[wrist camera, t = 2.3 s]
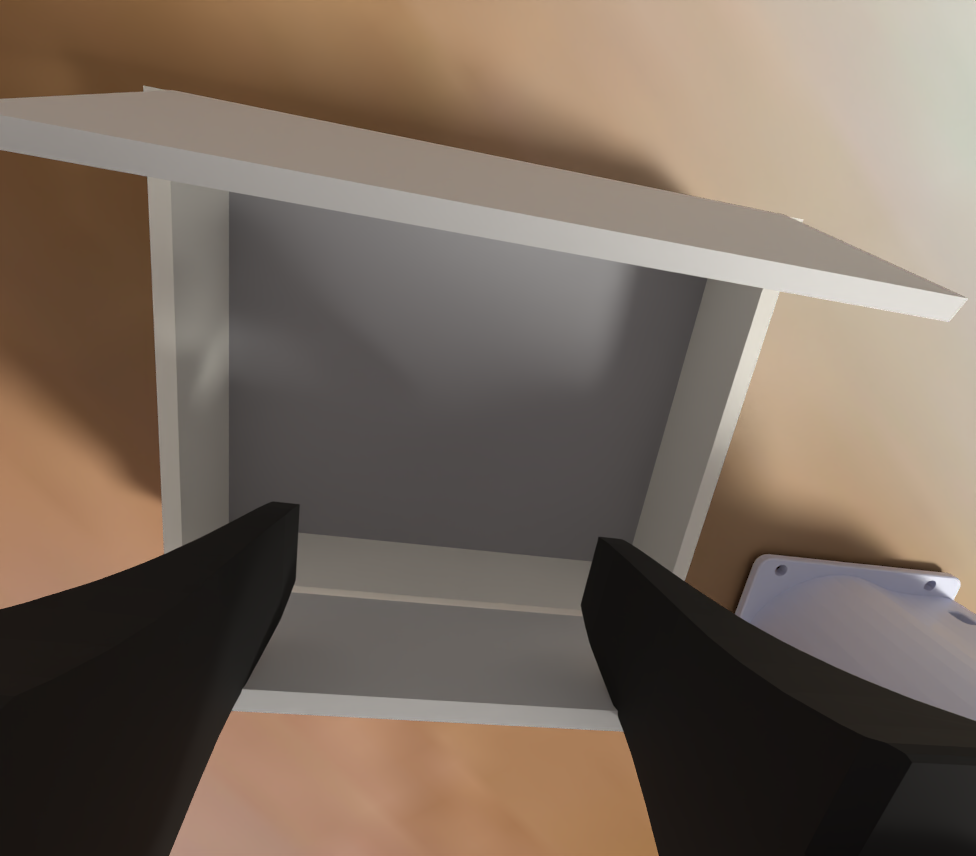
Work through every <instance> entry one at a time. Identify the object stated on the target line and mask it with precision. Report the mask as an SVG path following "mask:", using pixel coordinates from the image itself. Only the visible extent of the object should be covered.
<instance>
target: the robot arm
mask: <svg viewBox="0 0 976 856" xmlns="http://www.w3.org/2000/svg"><path fill="white" fill-rule="evenodd" d="M299 510H300V504H293V503H283V502H274V501H272V502H270V503H267V504H265V505H263V506H261V507H259V508H257V509H255V510H253V511H251V512H249V513H247V514H245V515H243V516H241V517H239V518H237V519H236V520H234V521H232V522H230V523H228V524H226V525H224V526H222V527H220V528H218V529H216V530H214V531H212V532H210V533H208V534H206V535H204V536H202V537H200V538H198V539H196V540H194V541H192V542H189V543H187V544H185V545H183V546H181V547H179V548H176V549H174V550H172V551H170V552H168V553H166V554H163V555H161V556H159V557H157V558H154V559H152V560H150V561H147V562H145V563H142V564H140V565H137V566H135V567H132V568H130V569H127V570H124V571H122V572H119V573H116V574H114V575H111V576H108V577H105V578H103V579H100V580H97V581H94V582H91V583H88V584H85V585H82V586H79V587H75V588H72V589H69V590H66V591H62V592H59V593H56V594H52V595H49V596H46V597H43V598H39V599H36V600H33V601H30V602H26V603H23V604H19V605H16V606H12V607H8V608H4V609H0V856H169V854H170V852H171V849H172V847H173V845H174V842H175V840H176V837H177V835H178V832H179V830H180V827H181V825H182V823H183V820H184V818H185V815H186V813H187V810H188V808H189V805H190V803H191V801H192V798H193V796H194V793H195V791H196V788H197V786H198V784H199V781H200V779H201V777H202V774H203V772H204V770H205V767H206V765H207V763H208V760H209V758H210V756H211V753H212V751H213V749H214V746H215V744H216V742H217V739H218V737H219V735H220V733H221V731H222V729H223V727H224V725H225V723H226V721H227V719H228V717H229V714H230V712H231V711H232V709H233V707H234V705H235V703H236V701H237V700H238V698H239V696H240V694H241V692H242V689H243V687H244V686H245V685H246V683H247V681H248V679H249V678H250V676H251V674H252V672H253V670H254V668H255V666H256V665H257V663H258V661H259V659H260V657H261V655H262V654H263V652H264V650H265V648H266V646H267V644H268V642H269V641H270V639H271V637H272V635H273V633H274V631H275V629H276V627H277V626H278V624H279V622H280V620H281V618H282V615H283V613H284V610H285V607H286V605H287V602H288V600H289V597H290V594H291V592H292V589H293V586H294V584H295V581H296V567H297V548H298V529H299ZM780 565H781V566H780ZM778 566H780V567H779V568H778V569H777V570H776V568H777V567H778ZM959 588H960V580H959V579H958V578H956V577H955V576H953V575H951V574H949V573H943V572H934V571H924V570H915V569H905V568H896V567H886V566H877V565H867V564H858V563H848V562H839V561H829V560H820V559H811V558H801V557H792V556H782V555H773V554H764V555H761V556H759V557H758V558H757V559H756V560H755V562H754V563H753V566H752V569H751V571H750V574H749V577H748V580H747V582H746V585H745V588H744V590H743V593H742V596H741V598H740V601H739V604H738V606H737V609H736V612H735V614H733V613H732V612H730V611H729V610H727V609H726V608H724V607H722V606H721V605H719V604H718V603H716V602H715V601H713V600H712V599H710V598H708V597H707V596H705V595H704V594H702V593H701V592H699V591H698V590H696V589H695V588H694V587H692V586H691V585H689V584H688V583H686V582H685V581H683V580H682V579H681V578H679V577H678V576H676V575H675V574H673V573H672V572H671V571H669V570H668V569H666V568H665V567H664V566H662V565H661V564H659V563H658V562H657V561H655V560H654V559H652V558H651V557H650V556H648V555H647V554H645V553H644V552H642V551H641V550H639V549H638V548H636V547H635V546H633V545H632V544H630V543H628V542H626V541H625V540H623V539H617V538H607V537H598V541H597V545H596V549H595V552H594V556H593V560H592V564H591V567H590V571H589V575H588V579H587V582H586V586H585V590H584V594H583V597H582V601H581V610H582V615H583V619H584V624H585V628H586V632H587V636H588V640H589V643H590V646H591V649H592V652H593V654H594V657H595V660H596V662H597V665H598V668H599V670H600V673H601V675H602V678H603V680H604V683H605V686H606V688H607V691H608V693H609V696H610V698H611V701H612V703H613V706H614V707H615V708H616V709H617V711H618V719H619V721H620V724H621V726H622V729H623V731H624V734H625V737H626V740H627V743H628V746H629V749H630V752H631V754H632V758H633V761H634V765H635V768H636V772H637V775H638V779H639V782H640V786H641V789H642V793H643V797H644V800H645V804H646V807H647V811H648V815H649V819H650V823H651V827H652V831H653V835H654V838H655V842H656V846H657V850H658V854H659V856H976V614H975V613H973V612H971V611H970V610H968V609H967V608H965V607H964V606H962V605H960V604H959V603H957V602H956V601H954V598H955V596H956V594H957V592H958V590H959Z"/></svg>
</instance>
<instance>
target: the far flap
mask: <svg viewBox="0 0 976 856" xmlns="http://www.w3.org/2000/svg"><path fill="white" fill-rule="evenodd" d="M232 711H244V712H263V713H282V714H301V715H320V716H339V717H358V718H377V719H396V720H415V721H434V722H453V723H471V724H490V725H509V726H528V727H547V728H566V729H585V730H604V731H623V729H622V726H621V724H620V721H619V719H618V711H617V709H616V708H615V707H614V706H613V703H612V701H611V698H610V696H609V693H608V691H607V688H606V686H605V683H604V680H603V678H602V675H601V673H600V670H599V668H598V665H597V662H596V660H595V657H594V654H593V652H592V649H591V646H590V643H589V640H588V636H587V632H586V628H585V624H584V619H583V616H571V615H559V614H547V613H535V612H523V611H511V610H499V609H487V608H475V607H463V606H451V605H439V604H427V603H415V602H403V601H391V600H379V599H367V598H355V597H343V596H331V595H319V594H307V593H295V592H291V594H290V597H289V600H288V602H287V605H286V607H285V610H284V613H283V615H282V618H281V620H280V622H279V624H278V626H277V627H276V629H275V631H274V633H273V635H272V637H271V639H270V641H269V642H268V644H267V646H266V648H265V650H264V652H263V654H262V655H261V657H260V659H259V661H258V663H257V665H256V666H255V668H254V670H253V672H252V674H251V676H250V678H249V679H248V681H247V683H246V685H245V686H244V687H243V689H242V692H241V694H240V696H239V698H238V700H237V701H236V703H235V705H234V707H233V709H232ZM623 732H624V731H623Z"/></svg>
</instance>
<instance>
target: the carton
mask: <svg viewBox="0 0 976 856" xmlns="http://www.w3.org/2000/svg"><path fill="white" fill-rule="evenodd" d="M144 91H163V89H158V88H154V87H149V86H144V85H143V92H144ZM147 182H148V204H149V226H150V249H151V271H152V294H153V316H154V338H155V361H156V383H157V405H158V428H159V450H160V473H161V495H162V517H163V540H164V554H166V553H168V552H170V551H172V550H174V549H176V548H179V547H181V546H183V545H185V544H187V543H189V542H192V541H194V540H196V539H198V538H200V537H202V536H204V535H206V534H208V533H210V532H212V531H214V530H216V529H218V528H220V527H222V526H224V525H226V524H228V523H230V522H232V521H234V520H236V519H237V518H239V517H241V516H243V515H245V514H247V513H249V512H251V511H253V510H255V509H257V508H259V507H261V506H263V505H265V504H267V503H270V502H272V501H274V502H283V503H293V504H300V510H299V529H298V548H297V567H296V581H295V584H294V586H293V589H292V592H295V593H307V594H319V595H331V596H343V597H355V598H367V599H379V600H391V601H403V602H415V603H427V604H439V605H451V606H463V607H475V608H487V609H499V610H511V611H523V612H535V613H547V614H559V615H571V616H583V615H582V610H581V601H582V597H583V594H584V590H585V586H586V582H587V579H588V575H589V571H590V567H591V564H592V560H593V556H594V552H595V549H596V545H597V541H598V537H607V538H617V539H623V540H625V541H626V542H628V543H630V544H632V545H633V546H635V547H636V548H638V549H639V550H641V551H642V552H644V553H645V554H647V555H648V556H650V557H651V558H652V559H654V560H655V561H657V562H658V563H659V564H661V565H662V566H664V567H665V568H666V569H668V570H669V571H671V572H672V573H673V574H675V575H676V576H678V577H679V578H681V579H682V580H683V581H685V579H686V576H687V573H688V570H689V567H690V564H691V561H692V558H693V555H694V551H695V548H696V545H697V542H698V539H699V536H700V533H701V530H702V527H703V524H704V521H705V518H706V515H707V512H708V509H709V506H710V503H711V500H712V497H713V494H714V490H715V487H716V484H717V481H718V478H719V475H720V472H721V469H722V466H723V463H724V460H725V457H726V454H727V451H728V448H729V445H730V442H731V439H732V436H733V433H734V430H735V426H736V423H737V420H738V417H739V414H740V411H741V408H742V405H743V402H744V399H745V396H746V393H747V390H748V387H749V384H750V381H751V378H752V375H753V372H754V369H755V365H756V362H757V359H758V356H759V353H760V350H761V347H762V344H763V341H764V338H765V335H766V332H767V329H768V326H769V323H770V320H771V317H772V314H773V311H774V308H775V305H776V301H777V298H778V295H779V292H780V291H775V290H770V289H764V288H759V287H753V286H748V285H742V284H737V283H731V282H726V281H720V280H715V279H709V278H704V277H698V276H693V275H687V274H682V273H676V272H671V271H665V270H660V269H654V268H649V267H643V266H638V265H632V264H627V263H621V262H616V261H610V260H604V259H599V258H593V257H588V256H582V255H577V254H571V253H566V252H560V251H555V250H549V249H544V248H538V247H533V246H527V245H522V244H516V243H511V242H505V241H500V240H494V239H489V238H483V237H478V236H472V235H467V234H461V233H456V232H450V231H445V230H439V229H434V228H428V227H423V226H417V225H412V224H406V223H401V222H395V221H390V220H384V219H379V218H373V217H367V216H362V215H356V214H351V213H345V212H340V211H334V210H329V209H323V208H318V207H312V206H307V205H301V204H296V203H290V202H285V201H279V200H274V199H268V198H263V197H257V196H252V195H246V194H241V193H235V192H230V191H224V190H219V189H213V188H208V187H202V186H197V185H191V184H186V183H180V182H175V181H169V180H164V179H158V178H153V177H147ZM791 218H793V217H791ZM793 219H795V220H797V221H799V222H803V219H798V218H793Z"/></svg>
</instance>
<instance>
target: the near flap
mask: <svg viewBox="0 0 976 856" xmlns="http://www.w3.org/2000/svg"><path fill="white" fill-rule="evenodd" d="M0 150H4V151H9V152H15V153H20V154H26V155H31V156H37V157H42V158H48V159H53V160H59V161H64V162H70V163H75V164H81V165H86V166H92V167H97V168H103V169H108V170H114V171H119V172H125V173H130V174H136V175H141V176H147V177H153V178H158V179H164V180H169V181H175V182H180V183H186V184H191V185H197V186H202V187H208V188H213V189H219V190H224V191H230V192H235V193H241V194H246V195H252V196H257V197H263V198H268V199H274V200H279V201H285V202H290V203H296V204H301V205H307V206H312V207H318V208H323V209H329V210H334V211H340V212H345V213H351V214H356V215H362V216H367V217H373V218H379V219H384V220H390V221H395V222H401V223H406V224H412V225H417V226H423V227H428V228H434V229H439V230H445V231H450V232H456V233H461V234H467V235H472V236H478V237H483V238H489V239H494V240H500V241H505V242H511V243H516V244H522V245H527V246H533V247H538V248H544V249H549V250H555V251H560V252H566V253H571V254H577V255H582V256H588V257H593V258H599V259H604V260H610V261H616V262H621V263H627V264H632V265H638V266H643V267H649V268H654V269H660V270H665V271H671V272H676V273H682V274H687V275H693V276H698V277H704V278H709V279H715V280H720V281H726V282H731V283H737V284H742V285H748V286H753V287H759V288H764V289H770V290H775V291H781V292H786V293H792V294H797V295H803V296H808V297H814V298H819V299H825V300H830V301H836V302H842V303H847V304H853V305H858V306H864V307H869V308H875V309H880V310H886V311H891V312H897V313H902V314H908V315H913V316H919V317H924V318H930V319H935V320H941V321H946V322H949V321H950V320H951V319H952V318H953V317H954V315H955V314H956V313H957V312H958V311H959V309H960V308H961V307H962V306H963V304H964V303H965V302H966V301H967V300H968V298H966V297H964V296H962V295H960V294H957V293H955V292H953V291H951V290H949V289H946V288H944V287H942V286H940V285H938V284H935V283H933V282H931V281H929V280H927V279H924V278H922V277H920V276H918V275H916V274H914V273H911V272H909V271H907V270H905V269H903V268H900V267H898V266H896V265H894V264H892V263H889V262H887V261H885V260H883V259H881V258H878V257H876V256H874V255H872V254H870V253H867V252H865V251H863V250H861V249H859V248H856V247H854V246H852V245H850V244H848V243H846V242H843V241H841V240H839V239H837V238H835V237H832V236H830V235H828V234H826V233H824V232H821V231H819V230H817V229H815V228H813V227H810V226H808V225H806V224H804V223H802V222H799V221H797V220H795V219H793V218H791V217H789V216H786V215H784V214H779V213H774V212H769V211H764V210H759V209H754V208H750V207H745V206H740V205H735V204H730V203H725V202H720V201H715V200H710V199H705V198H700V197H696V196H691V195H686V194H681V193H676V192H671V191H666V190H661V189H656V188H651V187H646V186H642V185H637V184H632V183H627V182H622V181H617V180H612V179H607V178H602V177H597V176H592V175H587V174H583V173H578V172H573V171H568V170H563V169H558V168H553V167H548V166H543V165H538V164H534V163H529V162H524V161H519V160H514V159H509V158H504V157H499V156H494V155H489V154H484V153H479V152H475V151H470V150H465V149H460V148H455V147H450V146H445V145H440V144H435V143H430V142H425V141H421V140H416V139H411V138H406V137H401V136H396V135H391V134H386V133H381V132H376V131H371V130H367V129H362V128H357V127H352V126H347V125H342V124H337V123H332V122H327V121H322V120H317V119H313V118H308V117H303V116H298V115H293V114H288V113H283V112H278V111H273V110H268V109H263V108H259V107H254V106H249V105H244V104H239V103H234V102H229V101H224V100H219V99H214V98H209V97H205V96H200V95H195V94H190V93H185V92H180V91H175V90H163V91H144V92H124V93H105V94H85V95H66V96H46V97H27V98H7V99H0Z"/></svg>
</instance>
